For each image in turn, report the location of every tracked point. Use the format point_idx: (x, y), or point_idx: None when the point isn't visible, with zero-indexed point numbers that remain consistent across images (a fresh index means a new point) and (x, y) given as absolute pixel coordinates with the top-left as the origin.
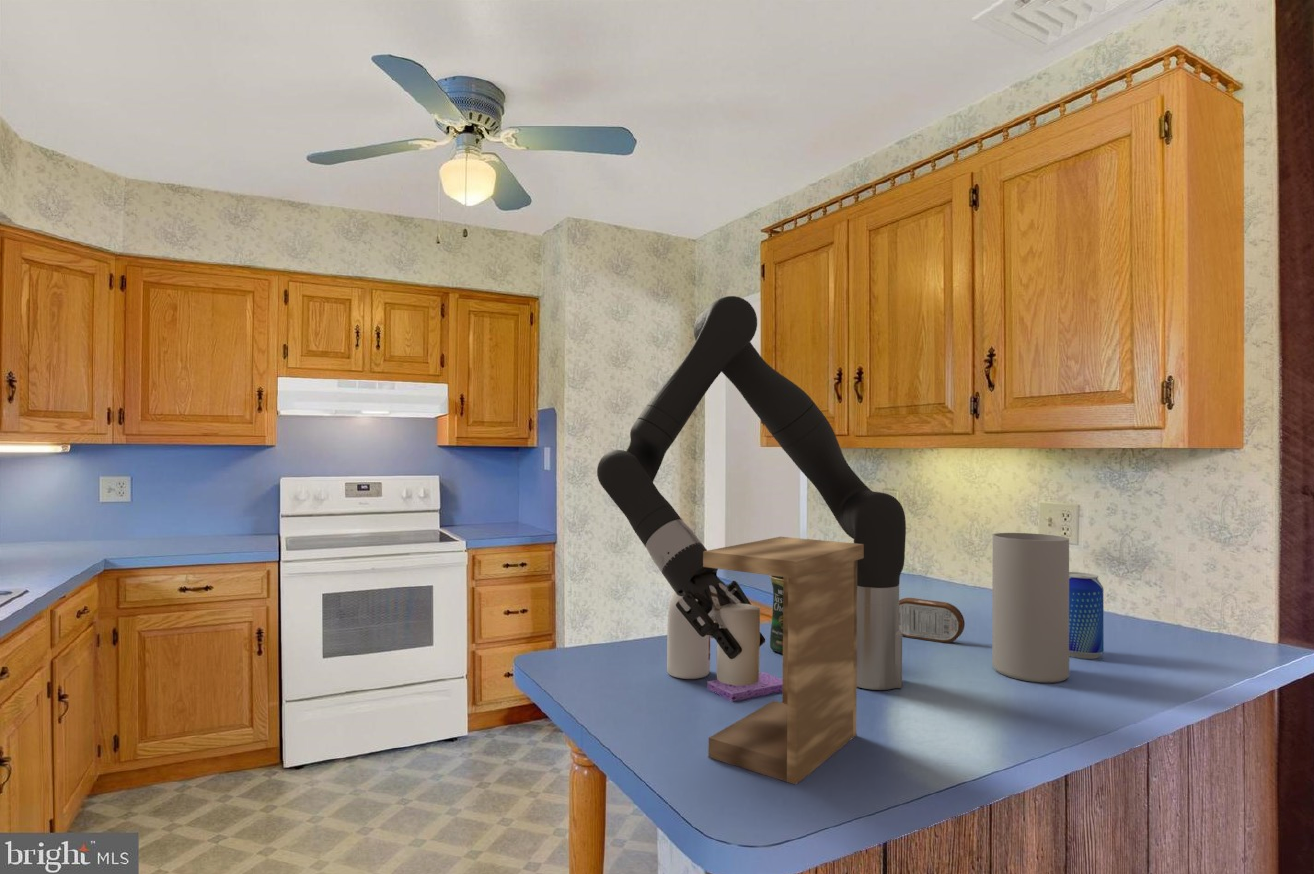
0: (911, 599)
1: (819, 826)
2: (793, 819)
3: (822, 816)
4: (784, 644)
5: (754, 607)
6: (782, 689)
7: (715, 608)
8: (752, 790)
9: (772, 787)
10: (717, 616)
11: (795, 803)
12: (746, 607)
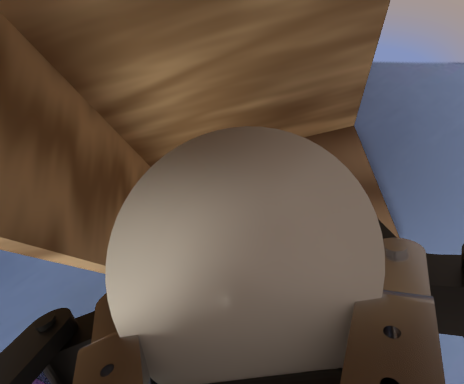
0: None
1: (399, 65)
2: (415, 84)
3: (379, 75)
4: (81, 253)
5: (158, 190)
6: (37, 382)
7: (434, 306)
8: (409, 151)
9: (378, 142)
10: (407, 288)
11: (383, 104)
12: (189, 216)
